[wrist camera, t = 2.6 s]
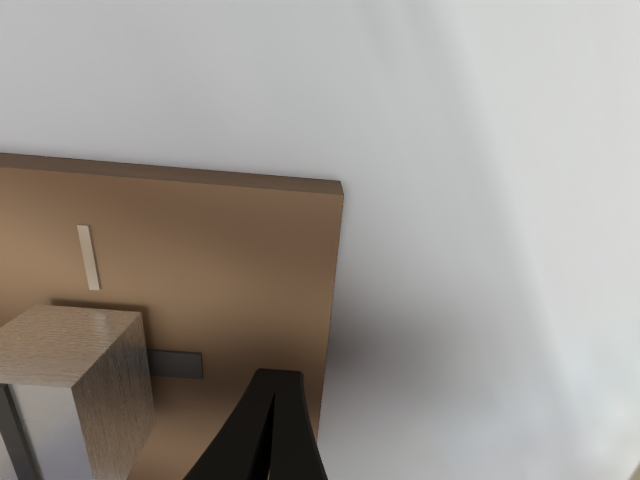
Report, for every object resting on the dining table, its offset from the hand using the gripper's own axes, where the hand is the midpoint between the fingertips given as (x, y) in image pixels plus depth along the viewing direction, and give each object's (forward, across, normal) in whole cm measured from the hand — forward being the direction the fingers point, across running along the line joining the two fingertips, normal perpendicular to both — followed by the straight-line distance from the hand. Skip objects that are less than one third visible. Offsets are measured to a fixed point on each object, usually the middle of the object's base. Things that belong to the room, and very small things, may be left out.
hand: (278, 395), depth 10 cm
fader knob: (+1, +6, 0) cm, 6 cm away
